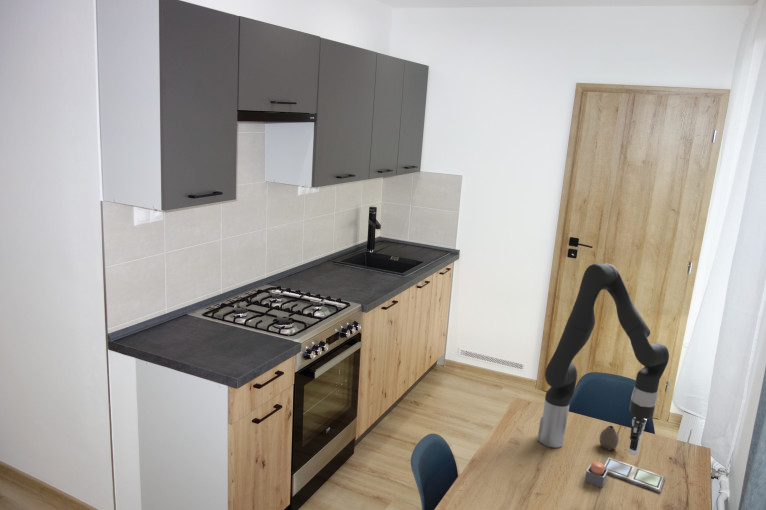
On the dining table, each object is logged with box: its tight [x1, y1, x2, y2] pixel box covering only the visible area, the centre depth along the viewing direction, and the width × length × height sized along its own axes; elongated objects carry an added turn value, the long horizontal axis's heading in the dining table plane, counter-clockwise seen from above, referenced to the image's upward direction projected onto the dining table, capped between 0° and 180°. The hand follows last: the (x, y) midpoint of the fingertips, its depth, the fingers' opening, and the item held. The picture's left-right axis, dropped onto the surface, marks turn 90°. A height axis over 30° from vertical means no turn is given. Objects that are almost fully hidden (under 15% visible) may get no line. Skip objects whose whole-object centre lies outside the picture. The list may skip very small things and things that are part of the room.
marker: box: [627, 426, 645, 456], centre depth 205 cm, size 4×4×11 cm
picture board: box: [603, 456, 666, 494], centre depth 218 cm, size 20×11×1 cm, turn 57°
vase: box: [599, 425, 620, 451], centre depth 235 cm, size 7×7×9 cm
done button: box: [590, 461, 605, 476], centre depth 212 cm, size 4×4×3 cm
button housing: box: [584, 463, 608, 489], centre depth 212 cm, size 6×6×4 cm
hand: (634, 447), depth 206 cm, fingers closed on marker, 3 cm apart
